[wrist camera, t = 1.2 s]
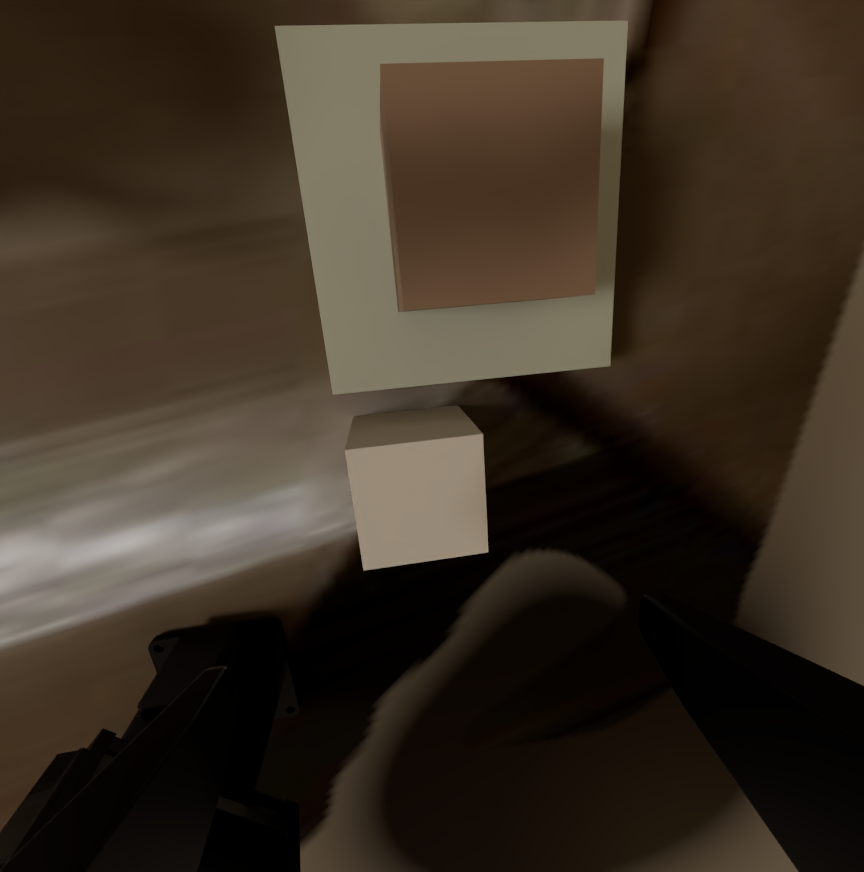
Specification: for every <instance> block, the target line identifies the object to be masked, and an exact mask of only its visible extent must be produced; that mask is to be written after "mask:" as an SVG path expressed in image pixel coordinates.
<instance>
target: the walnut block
mask: <svg viewBox="0 0 864 872" xmlns="http://www.w3.org/2000/svg"><path fill="white" fill-rule="evenodd" d="M603 68H604V58H596V59H555V60H515V61H474V62H434V63H393V64H380V139H381V149H382V159H383V168H384V178H385V188H386V198H387V208H388V217H389V227H390V237H391V247H392V256H393V266H394V276H395V286H396V296H397V305H398V312H403V311H415V310H427V309H438V308H450V307H462V306H474V305H486V304H497V303H509V302H521V301H533V300H544V299H554V298H565V297H575V296H585V295H595V279H596V252H597V226H598V199H599V173H600V147H601V120H602V94H603Z"/></svg>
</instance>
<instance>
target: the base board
mask: <svg viewBox="0 0 864 872" xmlns="http://www.w3.org/2000/svg"><path fill="white" fill-rule="evenodd" d="M627 30H628V21H570V22H504V23H438V24H372V25H306V26H275V32H276V38H277V44H278V51H279V57H280V63H281V70H282V76H283V82H284V89H285V95H286V101H287V108H288V114H289V120H290V127H291V133H292V139H293V146H294V152H295V158H296V165H297V171H298V177H299V184H300V190H301V196H302V203H303V209H304V215H305V222H306V228H307V234H308V240H309V247H310V253H311V259H312V266H313V272H314V278H315V285H316V291H317V297H318V304H319V310H320V316H321V323H322V329H323V335H324V342H325V348H326V354H327V361H328V367H329V373H330V380H331V386H332V392H333V395H335V394H344V393H354V392H364V391H373V390H383V389H393V388H402V387H412V386H422V385H431V384H441V383H451V382H460V381H470V380H480V379H489V378H499V377H509V376H518V375H528V374H538V373H547V372H557V371H567V370H576V369H586V368H596V367H605V366H610V361H611V342H612V322H613V303H614V283H615V264H616V244H617V225H618V205H619V186H620V166H621V147H622V127H623V108H624V88H625V69H626V49H627ZM596 58H604V68H603V94H602V120H601V147H600V173H599V199H598V226H597V252H596V279H595V295H585V296H575V297H565V298H554V299H544V300H533V301H521V302H509V303H497V304H486V305H474V306H462V307H450V308H438V309H427V310H415V311H403V312H398V305H397V296H396V286H395V276H394V266H393V256H392V247H391V237H390V227H389V217H388V208H387V198H386V188H385V178H384V168H383V159H382V149H381V139H380V64H393V63H434V62H474V61H515V60H555V59H596Z"/></svg>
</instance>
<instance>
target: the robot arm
mask: <svg viewBox="0 0 864 872" xmlns="http://www.w3.org/2000/svg"><path fill="white" fill-rule="evenodd" d="M638 625H639V629H640V632H641V634H642V636H643V638H644V640H645V642H646V643H647V645H648V647H649V648H650V650H651V652H652V654H653V655H654V657H655V659H656V661H657V662H658V664H659V666H660V668H661V669H662V671H663V673H664V675H665V676H666V678H667V680H668V681H669V683H670V685H671V687H672V688H673V690H674V692H675V693H676V695H677V697H678V698H679V700H680V702H681V703H682V705H683V706H684V708H685V709H686V710H687V712H688V714H689V715H690V716H691V718H692V719H693V721H694V722H695V724H696V725H697V727H698V728H699V730H700V731H701V732H702V734H703V735H704V737H705V738H706V739H707V741H708V743H709V744H710V745H711V747H712V748H713V750H714V751H715V753H716V754H717V755H718V757H719V758H720V760H721V761H722V763H723V764H724V765H725V767H726V768H727V770H728V771H729V772H730V774H731V775H732V777H733V778H734V780H735V781H736V782H737V784H738V786H739V787H740V788H741V790H742V791H743V793H744V794H745V796H746V797H747V798H748V800H749V801H750V803H751V804H752V805H753V807H754V808H755V810H756V811H757V813H758V814H759V816H760V817H761V818H762V820H763V821H764V823H765V824H766V826H767V827H768V828H769V830H770V831H771V833H772V834H773V836H774V837H775V838H776V840H777V841H778V843H779V844H780V846H781V847H782V849H783V850H784V851H785V853H786V854H787V856H788V857H789V859H790V860H791V862H792V863H793V864H794V865H795V867H796V869H797V870H798V872H864V686H862V685H860V684H858V683H856V682H854V681H852V680H850V679H848V678H846V677H843V676H841V675H839V674H837V673H835V672H833V671H831V670H828V669H826V668H824V667H822V666H820V665H818V664H816V663H813V662H811V661H809V660H807V659H805V658H803V657H800V656H798V655H796V654H794V653H792V652H790V651H788V650H786V649H783V648H781V647H779V646H777V645H775V644H773V643H770V642H768V641H766V640H764V639H762V638H760V637H758V636H756V635H753V634H751V633H749V632H747V631H745V630H743V629H740V628H738V627H736V626H734V625H732V624H730V623H728V622H726V621H723V620H721V619H719V618H717V617H715V616H713V615H711V614H708V613H706V612H704V611H702V610H700V609H698V608H696V607H693V606H691V605H689V604H687V603H685V602H683V601H681V600H678V599H676V598H674V597H672V596H670V595H668V594H666V593H663V592H660V591H655V592H649V593H644V594H642V596H641V597H640V606H639V619H638ZM268 627H273V628H274V629H269V628H268ZM160 645H162V646H160ZM148 649H149V653H150V655H151V658H152V661H153V664H154V666H155V669H156V672H157V674H156V676H155V678H154V679H153V681H152V682H151V684H150V686H149V687H148V689H147V691H146V692H145V694H144V695H143V697H142V699H141V700H140V702H139V703H138V706H137V707H138V712H137V713H136V715H135V717H134V718H133V720H132V722H131V723H130V725H129V727H128V728H127V730H126V731H125V733H124V735H123V736H122V738H121V739H120V738H117V737H115V736H116V733H113V732H111V731H108V730H106V729H102V730H101V731H100V732H99V734H98V735H97V736H96V738H95V739H94V740H93V741H92V743H91V744H90V745H89V746H88V748H87V749H86V748H82V749H81V748H80V749H79V750H78V751H72V752H67V753H61V754H57V756H56V757H55V758H54V760H53V761H52V762H51V764H50V765H49V766H48V768H47V769H46V770H45V772H44V773H43V774H42V776H41V777H40V778H39V780H38V781H37V783H36V784H35V785H34V787H33V788H32V789H31V791H30V792H29V793H28V795H27V796H26V797H25V799H24V800H23V802H22V803H21V804H20V806H19V807H18V808H17V810H16V811H15V813H14V814H13V815H12V817H11V818H10V819H9V821H8V822H7V824H6V825H5V826H4V828H3V829H2V830H1V832H0V872H300V836H299V805H298V803H295V802H293V801H290V800H288V799H287V800H286V801H282V800H280V799H277V798H274V797H272V796H269V795H267V794H264V793H261V792H259V791H256V786H257V783H258V779H259V775H260V771H261V767H262V763H263V760H264V756H265V752H266V748H267V744H268V740H269V737H270V733H271V729H272V725H273V721H274V720H275V719H281V718H286V717H292V716H295V715H296V714H298V712H299V709H300V698H299V693H298V689H297V685H296V681H295V677H294V672H293V668H292V664H291V660H290V656H289V651H288V647H287V643H286V639H285V635H284V630H283V626H282V623H281V621H280V620H279V619H277V618H265V619H259V620H252V621H246V622H239V623H233V624H226V625H220V626H213V627H207V628H200V629H194V630H188V631H181V632H175V633H168V634H162V635H158V636H156V637H155V638H154V639H153V640H152V641H151V643H150V644H149V647H148ZM290 706H292V707H290Z"/></svg>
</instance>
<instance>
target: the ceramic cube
mask: <svg viewBox="0 0 864 872" xmlns="http://www.w3.org/2000/svg"><path fill="white" fill-rule="evenodd" d="M345 455H346V461H347V467H348V474H349V480H350V487H351V493H352V500H353V506H354V512H355V519H356V525H357V532H358V538H359V545H360V551H361V557H362V564H363V570H371V569H378V568H385V567H392V566H398V565H405V564H412V563H419V562H426V561H433V560H440V559H446V558H453V557H460V556H467V555H474V554H481V553H487V552H488V532H487V510H486V488H485V466H484V444H483V433H482V432H481V431H480V430H479V429H478V428H477V427H476V425H475V424H474V423H473V422H472V421H471V420H470V419H469V417H468V416H467V415H466V414H465V413H464V412H463V411H462V409H461V408H460V407H459V406H458V405H456V406H447V407H438V408H429V409H419V410H410V411H401V412H392V413H383V414H374V415H364V416H355V417H353V420H352V424H351V428H350V432H349V436H348V440H347V444H346V447H345Z"/></svg>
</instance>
